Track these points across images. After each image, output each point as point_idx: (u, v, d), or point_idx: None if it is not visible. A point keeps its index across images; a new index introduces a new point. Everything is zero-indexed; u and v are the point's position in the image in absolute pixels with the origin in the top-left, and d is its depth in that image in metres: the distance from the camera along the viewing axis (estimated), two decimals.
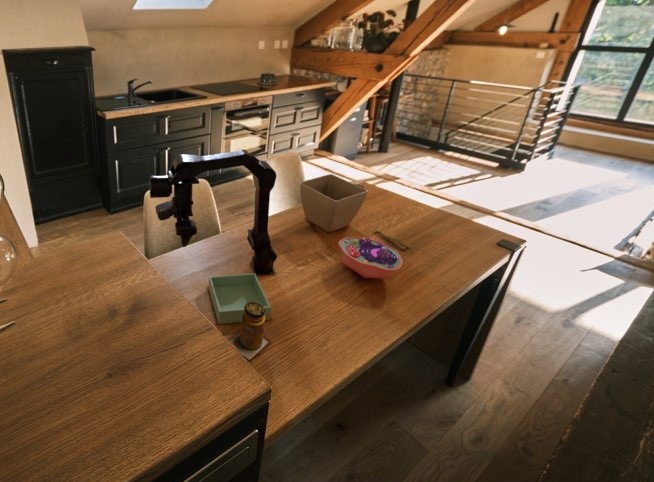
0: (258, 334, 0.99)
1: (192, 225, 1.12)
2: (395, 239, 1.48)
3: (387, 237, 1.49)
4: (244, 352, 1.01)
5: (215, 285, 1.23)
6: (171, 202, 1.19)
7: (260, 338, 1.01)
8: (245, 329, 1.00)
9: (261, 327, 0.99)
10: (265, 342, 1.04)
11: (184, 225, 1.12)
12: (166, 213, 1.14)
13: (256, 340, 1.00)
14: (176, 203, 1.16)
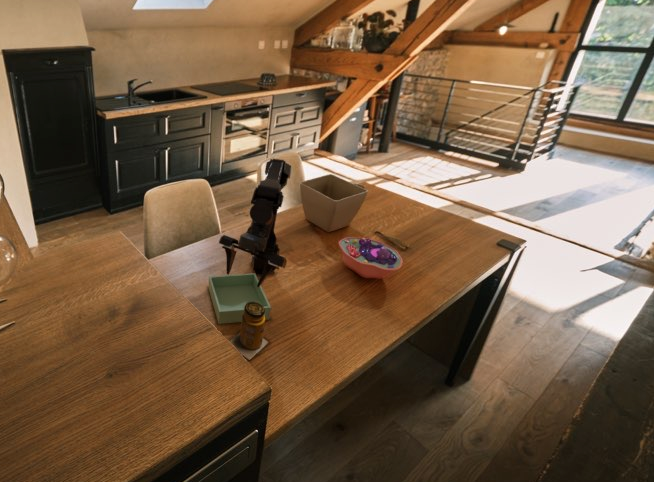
0: (258, 334, 0.99)
1: (284, 257, 1.05)
2: (395, 239, 1.48)
3: (387, 237, 1.49)
4: (244, 352, 1.01)
5: (215, 285, 1.23)
6: (252, 233, 1.06)
7: (260, 338, 1.01)
8: (245, 329, 1.00)
9: (261, 327, 0.99)
10: (265, 342, 1.04)
11: None
12: (266, 242, 1.01)
13: (256, 340, 1.00)
14: (265, 233, 1.05)
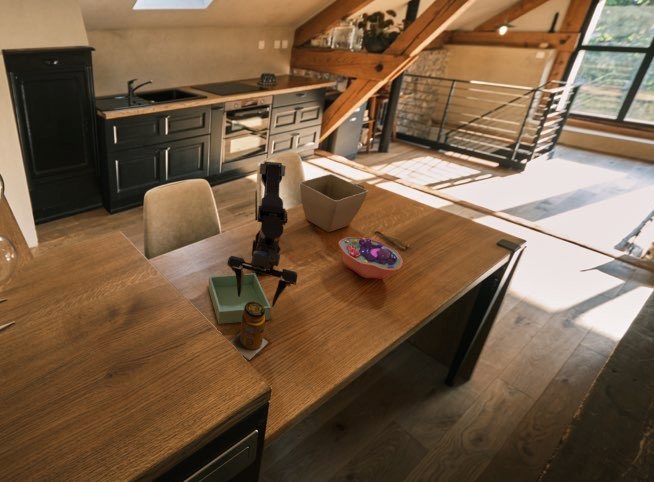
0: (258, 334, 0.99)
1: None
2: (395, 239, 1.48)
3: (387, 237, 1.49)
4: (244, 352, 1.01)
5: (215, 285, 1.23)
6: (262, 251, 1.04)
7: (260, 338, 1.01)
8: (245, 329, 1.00)
9: (261, 327, 0.99)
10: (265, 342, 1.04)
11: None
12: (279, 258, 1.01)
13: (256, 340, 1.00)
14: (274, 250, 1.05)
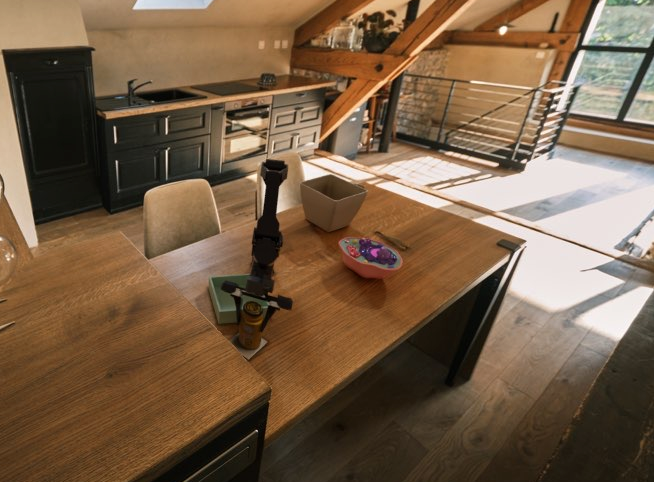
0: (257, 333, 0.99)
1: None
2: (395, 239, 1.48)
3: (387, 237, 1.49)
4: (243, 352, 1.01)
5: (215, 285, 1.23)
6: (256, 276, 1.01)
7: (259, 338, 1.01)
8: (244, 328, 1.00)
9: (259, 326, 0.99)
10: (264, 342, 1.04)
11: None
12: None
13: (255, 340, 1.00)
14: (269, 275, 1.02)
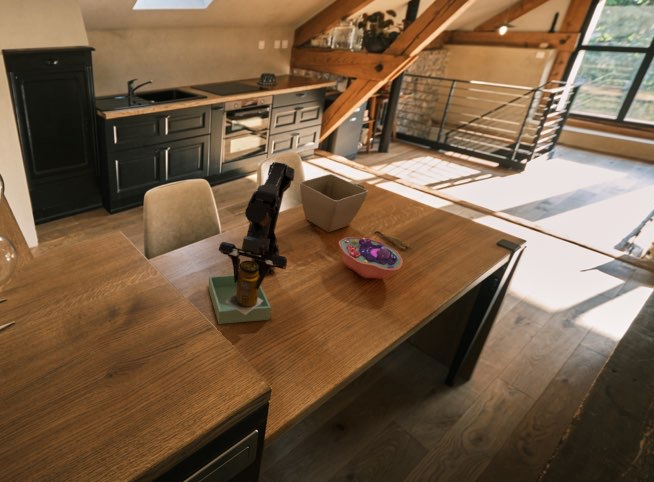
0: (253, 290, 1.05)
1: None
2: (395, 239, 1.48)
3: (387, 237, 1.49)
4: (241, 309, 1.06)
5: (215, 285, 1.23)
6: (252, 237, 1.06)
7: (255, 295, 1.06)
8: (241, 286, 1.05)
9: (255, 283, 1.04)
10: (260, 301, 1.09)
11: None
12: (269, 243, 1.03)
13: (252, 297, 1.05)
14: (264, 236, 1.07)
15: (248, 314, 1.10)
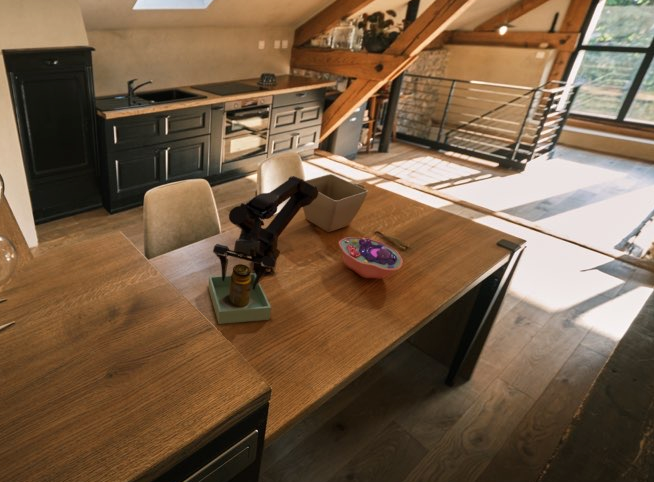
0: (245, 292, 1.13)
1: None
2: (395, 239, 1.48)
3: (387, 237, 1.49)
4: None
5: (215, 285, 1.23)
6: (244, 239, 1.14)
7: (247, 296, 1.14)
8: (234, 288, 1.13)
9: (247, 285, 1.12)
10: (252, 301, 1.17)
11: None
12: (259, 245, 1.11)
13: (243, 298, 1.14)
14: (255, 239, 1.15)
15: (248, 314, 1.10)
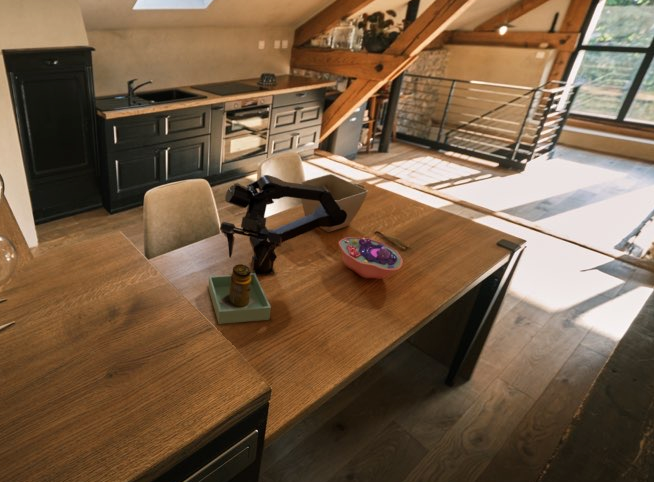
0: (245, 292, 1.13)
1: None
2: (395, 239, 1.48)
3: (387, 237, 1.49)
4: None
5: (215, 285, 1.23)
6: (250, 217, 1.18)
7: (247, 296, 1.14)
8: (234, 288, 1.13)
9: (247, 285, 1.12)
10: (252, 301, 1.17)
11: None
12: (265, 221, 1.14)
13: (243, 298, 1.14)
14: (261, 216, 1.18)
15: (248, 314, 1.10)
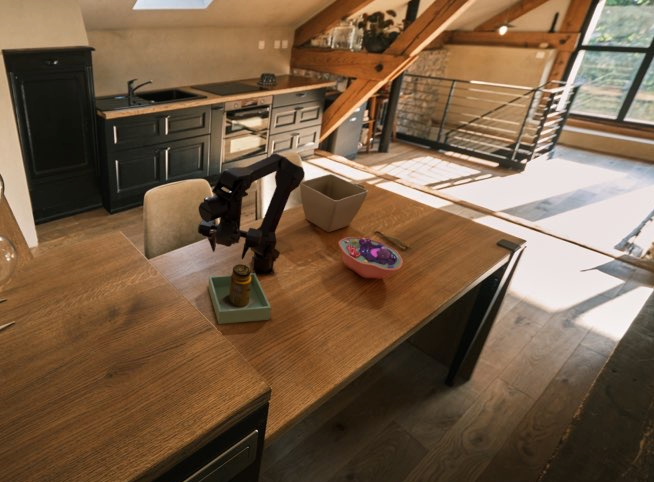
0: (245, 292, 1.13)
1: (259, 230, 1.13)
2: (395, 239, 1.48)
3: (387, 237, 1.49)
4: None
5: (215, 285, 1.23)
6: (225, 224, 1.11)
7: (247, 296, 1.14)
8: (234, 288, 1.13)
9: (247, 285, 1.12)
10: (252, 301, 1.17)
11: (257, 234, 1.11)
12: (239, 234, 1.08)
13: (243, 298, 1.14)
14: (236, 220, 1.10)
15: (248, 314, 1.10)
